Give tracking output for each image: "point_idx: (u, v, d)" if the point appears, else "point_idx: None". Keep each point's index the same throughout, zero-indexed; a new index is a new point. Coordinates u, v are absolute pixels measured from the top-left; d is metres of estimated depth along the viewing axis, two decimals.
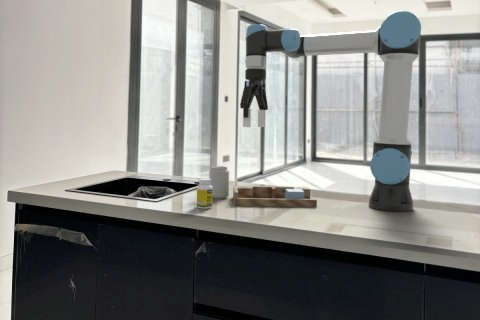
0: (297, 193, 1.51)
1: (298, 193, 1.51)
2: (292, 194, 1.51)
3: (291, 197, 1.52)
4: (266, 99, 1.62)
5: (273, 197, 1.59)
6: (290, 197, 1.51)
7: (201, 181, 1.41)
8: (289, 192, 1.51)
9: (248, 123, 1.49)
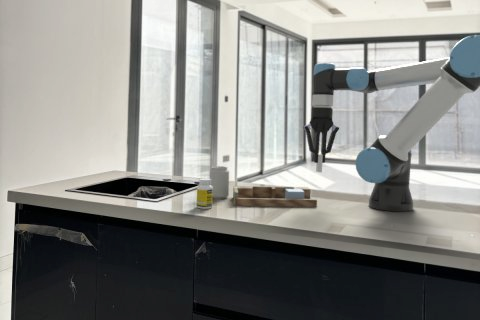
0: (297, 193, 1.51)
1: (298, 193, 1.51)
2: (292, 194, 1.51)
3: (291, 197, 1.51)
4: (332, 143, 1.52)
5: (273, 197, 1.59)
6: (290, 197, 1.51)
7: (201, 181, 1.41)
8: (289, 192, 1.51)
9: (317, 168, 1.53)
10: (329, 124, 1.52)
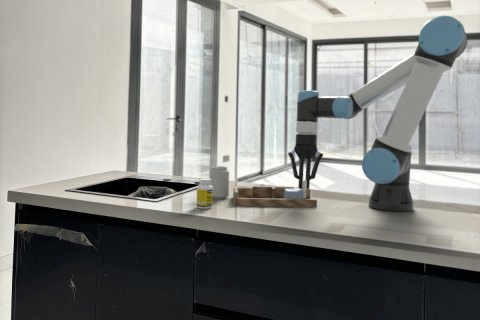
0: (296, 193, 1.51)
1: (297, 193, 1.51)
2: (291, 194, 1.51)
3: (290, 197, 1.51)
4: (316, 169, 1.53)
5: (273, 197, 1.59)
6: (289, 197, 1.51)
7: (201, 181, 1.41)
8: (288, 192, 1.51)
9: None
10: (313, 150, 1.52)
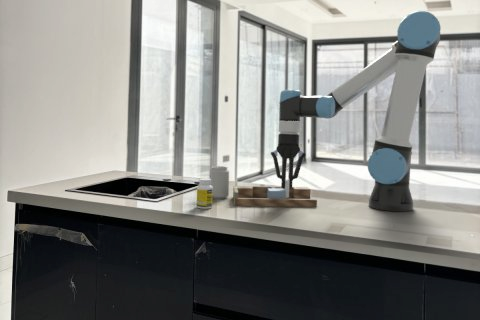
0: (278, 192, 1.51)
1: (279, 192, 1.51)
2: (273, 193, 1.51)
3: (272, 196, 1.51)
4: (299, 169, 1.53)
5: None
6: (271, 196, 1.51)
7: (201, 181, 1.41)
8: (270, 191, 1.51)
9: None
10: (296, 150, 1.52)
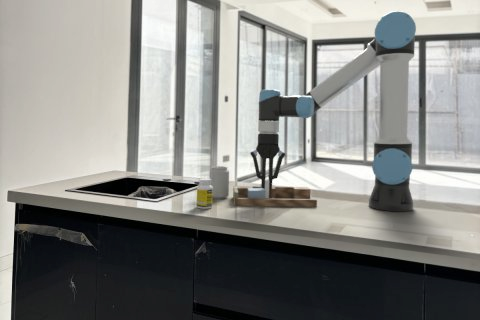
0: (258, 192, 1.51)
1: (259, 192, 1.51)
2: (253, 193, 1.51)
3: (252, 196, 1.51)
4: (278, 169, 1.52)
5: (273, 197, 1.59)
6: (251, 196, 1.51)
7: (201, 181, 1.41)
8: (250, 191, 1.51)
9: None
10: (275, 150, 1.52)
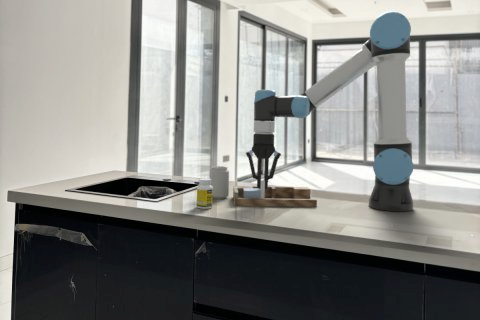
0: (253, 192, 1.51)
1: (254, 192, 1.51)
2: (248, 193, 1.51)
3: (247, 196, 1.51)
4: (274, 169, 1.52)
5: (273, 197, 1.59)
6: (246, 196, 1.51)
7: (201, 181, 1.41)
8: (245, 191, 1.51)
9: None
10: (271, 150, 1.51)
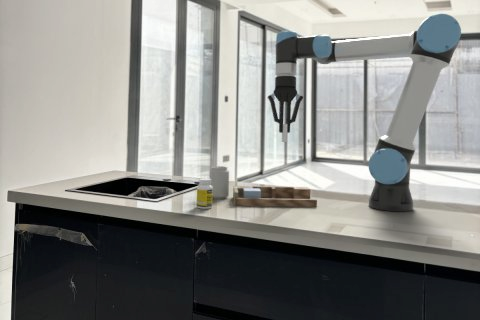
0: (253, 192, 1.51)
1: (254, 192, 1.51)
2: (248, 193, 1.51)
3: (247, 196, 1.51)
4: (296, 112, 1.51)
5: (273, 197, 1.59)
6: (246, 196, 1.51)
7: (201, 181, 1.41)
8: (245, 191, 1.51)
9: (282, 138, 1.52)
10: (293, 93, 1.50)
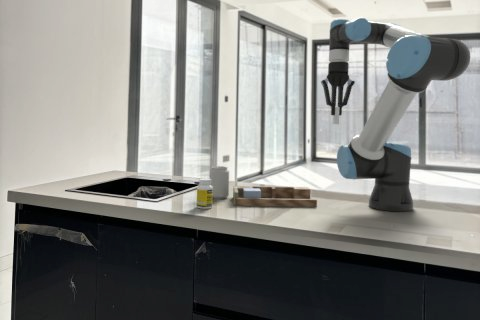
0: (254, 192, 1.51)
1: (255, 192, 1.51)
2: (248, 193, 1.51)
3: (248, 196, 1.51)
4: (348, 96, 1.61)
5: (273, 197, 1.59)
6: (246, 196, 1.51)
7: (201, 181, 1.41)
8: (245, 191, 1.51)
9: (334, 120, 1.62)
10: (345, 78, 1.60)
